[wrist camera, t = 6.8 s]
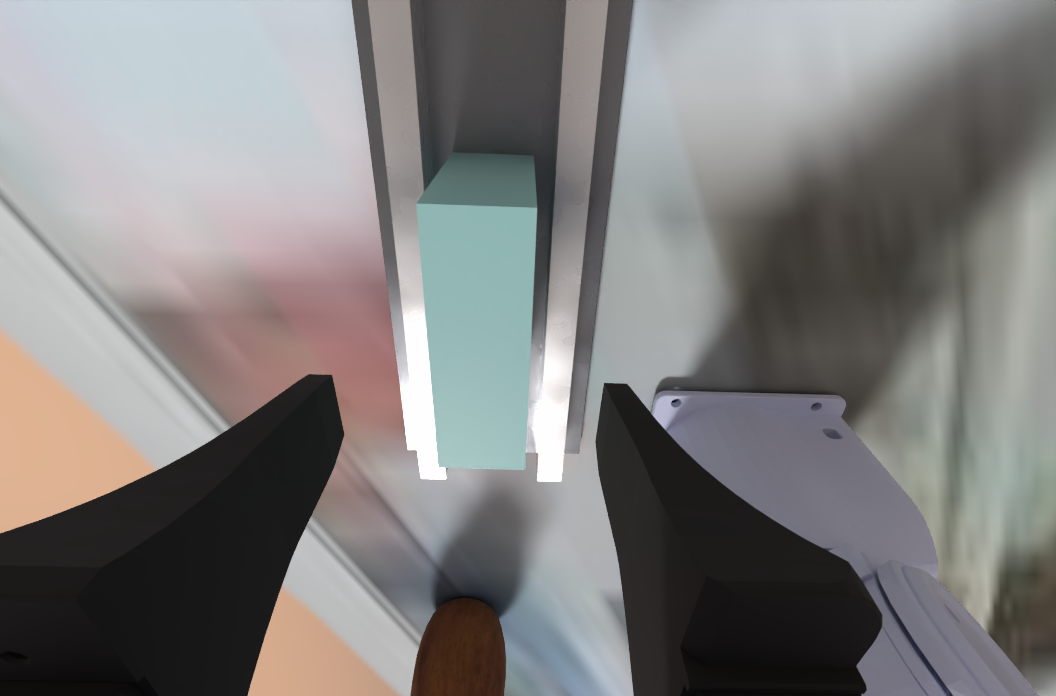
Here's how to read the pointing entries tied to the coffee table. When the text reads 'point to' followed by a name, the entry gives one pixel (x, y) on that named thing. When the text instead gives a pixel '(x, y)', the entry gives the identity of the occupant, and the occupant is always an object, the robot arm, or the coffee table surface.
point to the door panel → (479, 306)
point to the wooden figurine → (461, 652)
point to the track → (498, 128)
